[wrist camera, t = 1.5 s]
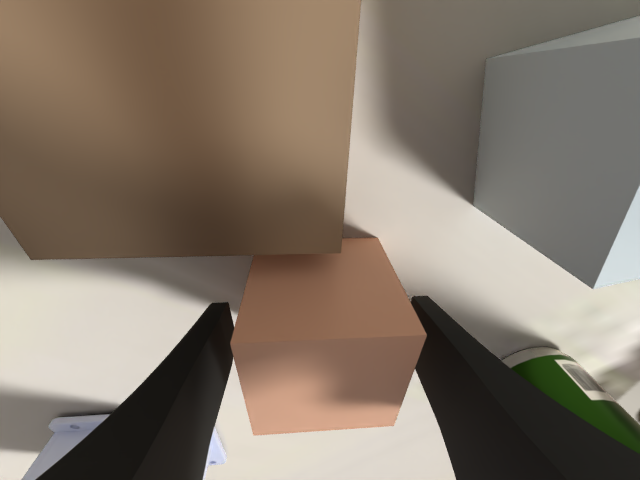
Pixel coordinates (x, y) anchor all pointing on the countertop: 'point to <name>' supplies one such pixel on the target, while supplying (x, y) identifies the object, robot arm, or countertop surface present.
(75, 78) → the walnut slab
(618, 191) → the slate cube
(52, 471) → the robot arm
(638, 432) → the beer can
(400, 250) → the countertop surface
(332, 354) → the terracotta cube
